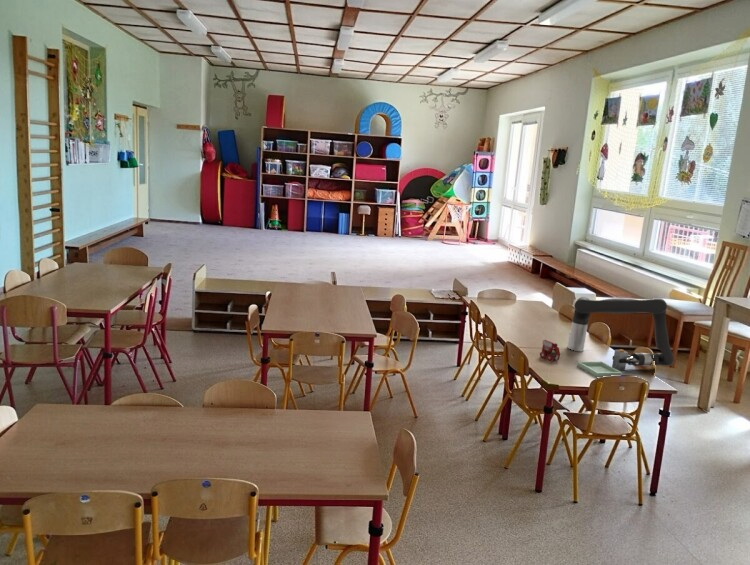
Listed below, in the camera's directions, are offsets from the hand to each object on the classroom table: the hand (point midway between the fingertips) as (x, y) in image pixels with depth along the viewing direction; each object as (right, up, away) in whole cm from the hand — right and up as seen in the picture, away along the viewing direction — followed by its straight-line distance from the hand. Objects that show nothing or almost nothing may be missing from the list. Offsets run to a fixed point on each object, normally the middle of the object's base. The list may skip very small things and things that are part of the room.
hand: (616, 359), depth 345 cm
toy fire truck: (-36, -1, +9) cm, 37 cm away
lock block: (+2, -6, +2) cm, 7 cm away
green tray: (-12, -6, -6) cm, 15 cm away
